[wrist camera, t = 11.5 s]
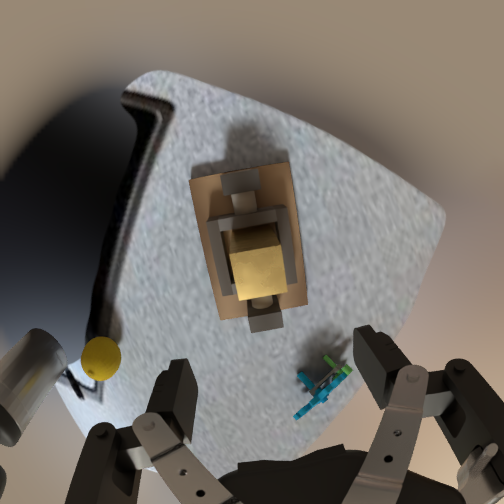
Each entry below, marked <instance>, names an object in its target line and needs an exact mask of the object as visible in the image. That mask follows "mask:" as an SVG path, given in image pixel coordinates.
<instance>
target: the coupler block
mask: <svg viewBox="0 0 504 504" xmlns="http://www.w3.org/2000/svg"><path fill="white" fill-rule="evenodd" d="M229 255H230V260H231V265H232V270H233V275H234V279H235V284H236V289H237V293H238V298H239V301H241V300H247V299H252V298H258V297H264V296H269V295H275V294H280V293H285V292H288V290H287V283H286V276H285V269H284V262H283V255H282V249H281V244H280V242H279V241H278V239H277V237H276V235H275V233H274V232H273V230H272V228H271V226H270V225H269V224H267V225H261V226H256V227H250V228H245V229H239V230H234V231H232V233H231V243H230V252H229Z"/></svg>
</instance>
